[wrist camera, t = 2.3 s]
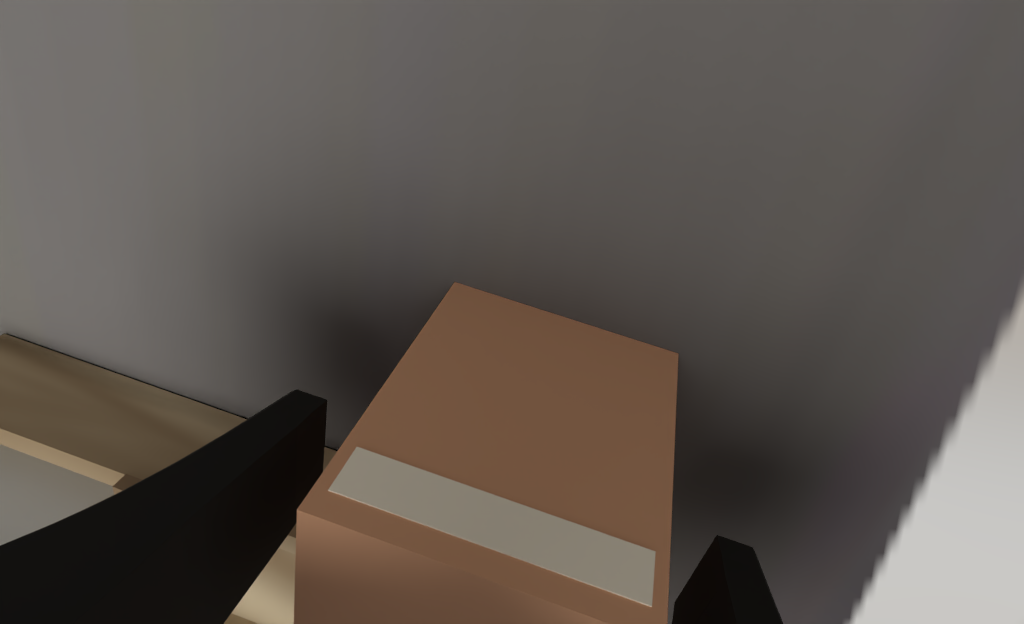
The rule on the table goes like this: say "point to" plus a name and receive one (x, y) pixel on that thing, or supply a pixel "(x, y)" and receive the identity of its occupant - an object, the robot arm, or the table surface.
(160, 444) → the light wooden tray
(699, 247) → the table surface
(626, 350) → the brown cardboard box
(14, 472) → the white foam cube
